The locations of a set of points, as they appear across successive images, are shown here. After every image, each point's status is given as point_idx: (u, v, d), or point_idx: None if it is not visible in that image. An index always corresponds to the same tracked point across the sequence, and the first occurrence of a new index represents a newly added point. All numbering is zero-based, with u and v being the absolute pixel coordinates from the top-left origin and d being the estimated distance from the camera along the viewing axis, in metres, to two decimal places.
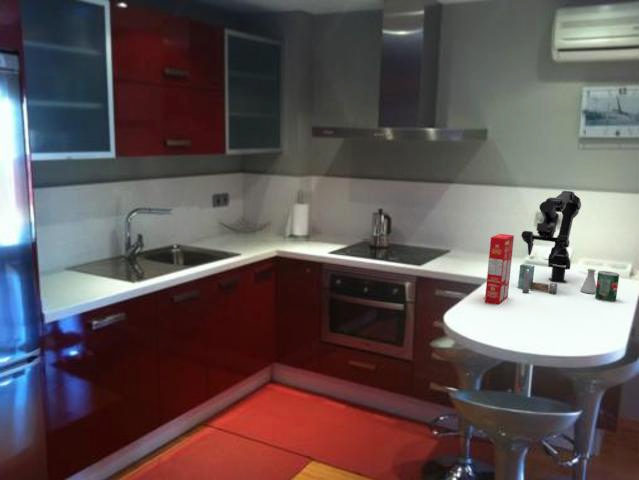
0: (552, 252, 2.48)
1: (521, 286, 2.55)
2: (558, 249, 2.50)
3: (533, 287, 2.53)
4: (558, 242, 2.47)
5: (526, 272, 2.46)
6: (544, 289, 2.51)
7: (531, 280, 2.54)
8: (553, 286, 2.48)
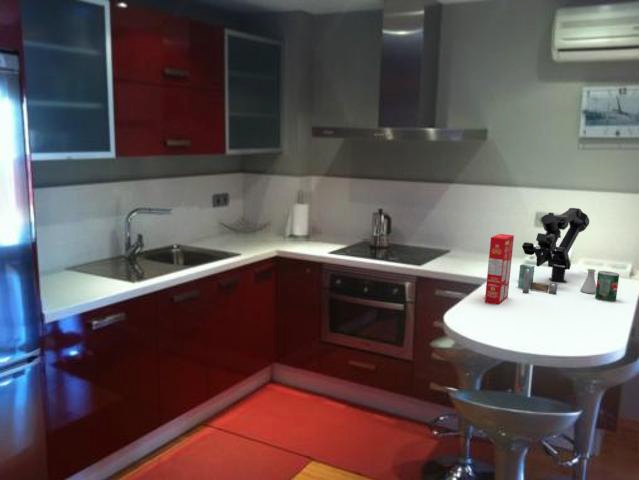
0: (539, 260, 2.59)
1: (521, 286, 2.55)
2: (546, 259, 2.60)
3: (533, 287, 2.53)
4: (546, 251, 2.58)
5: (526, 272, 2.46)
6: (544, 289, 2.51)
7: (531, 280, 2.54)
8: (553, 286, 2.48)
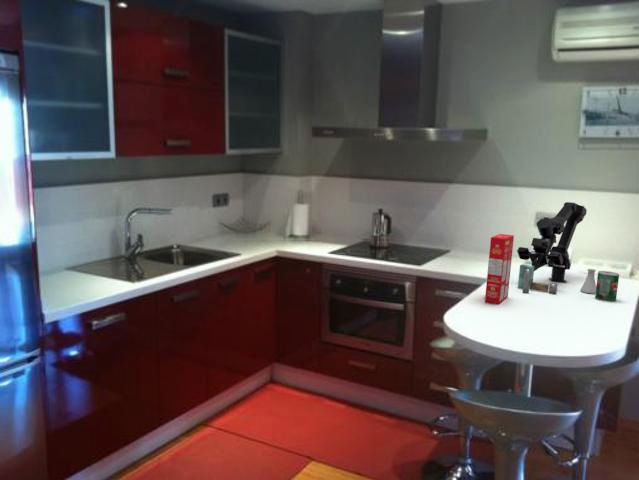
0: (534, 265, 2.56)
1: (521, 286, 2.55)
2: (541, 264, 2.57)
3: (533, 287, 2.53)
4: (541, 256, 2.55)
5: (526, 272, 2.46)
6: (544, 289, 2.51)
7: (531, 280, 2.54)
8: (553, 286, 2.48)
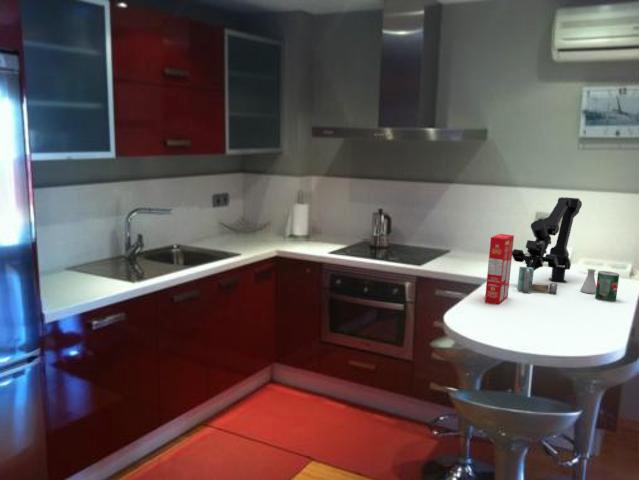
0: None
1: None
2: (536, 267, 2.53)
3: (533, 289, 2.50)
4: (536, 259, 2.51)
5: (526, 272, 2.46)
6: (545, 290, 2.49)
7: None
8: (553, 286, 2.48)
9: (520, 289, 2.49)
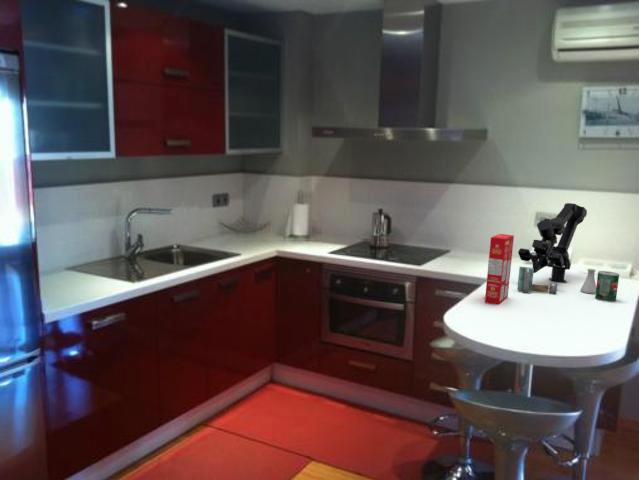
0: (535, 267, 2.57)
1: (522, 289, 2.49)
2: (542, 265, 2.58)
3: (533, 289, 2.50)
4: (542, 258, 2.56)
5: (526, 272, 2.46)
6: (545, 290, 2.49)
7: None
8: (553, 286, 2.48)
9: (520, 289, 2.49)
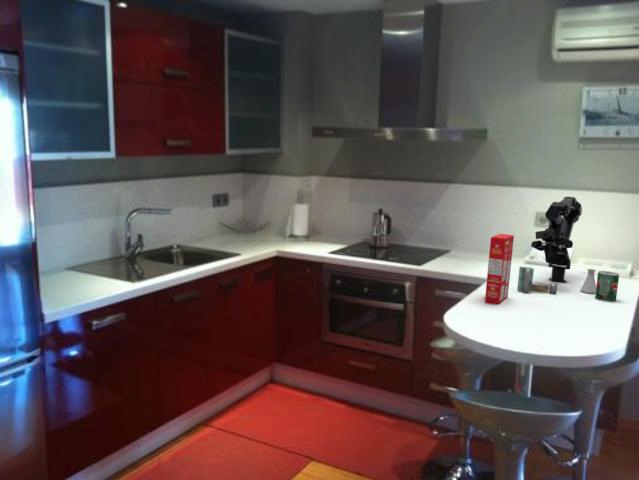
0: (547, 257, 2.57)
1: (522, 289, 2.49)
2: (554, 252, 2.58)
3: (533, 289, 2.50)
4: (549, 246, 2.56)
5: (526, 272, 2.46)
6: (545, 290, 2.49)
7: None
8: (553, 286, 2.48)
9: (520, 289, 2.49)
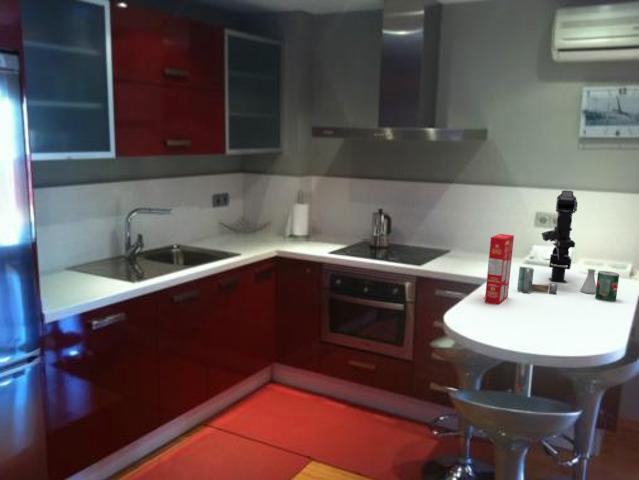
0: (558, 255, 2.60)
1: (522, 289, 2.49)
2: (565, 250, 2.58)
3: (533, 289, 2.50)
4: (556, 246, 2.58)
5: (526, 272, 2.46)
6: (545, 290, 2.49)
7: None
8: (553, 286, 2.48)
9: (520, 289, 2.49)
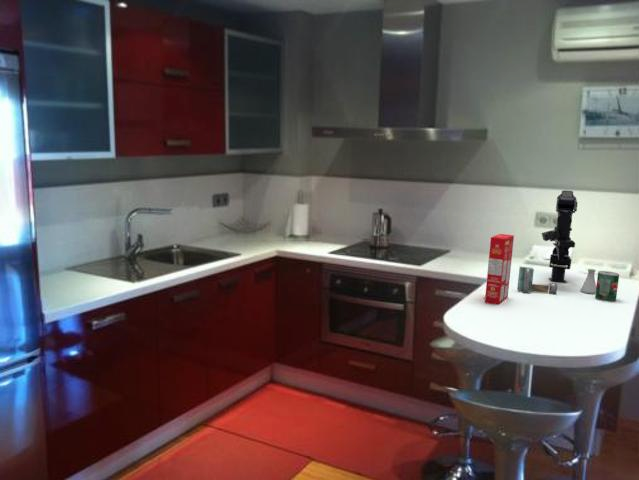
0: (558, 255, 2.60)
1: (522, 289, 2.49)
2: (565, 250, 2.58)
3: (533, 289, 2.50)
4: (556, 246, 2.58)
5: (526, 272, 2.46)
6: (545, 290, 2.49)
7: None
8: (553, 286, 2.48)
9: (520, 289, 2.49)
